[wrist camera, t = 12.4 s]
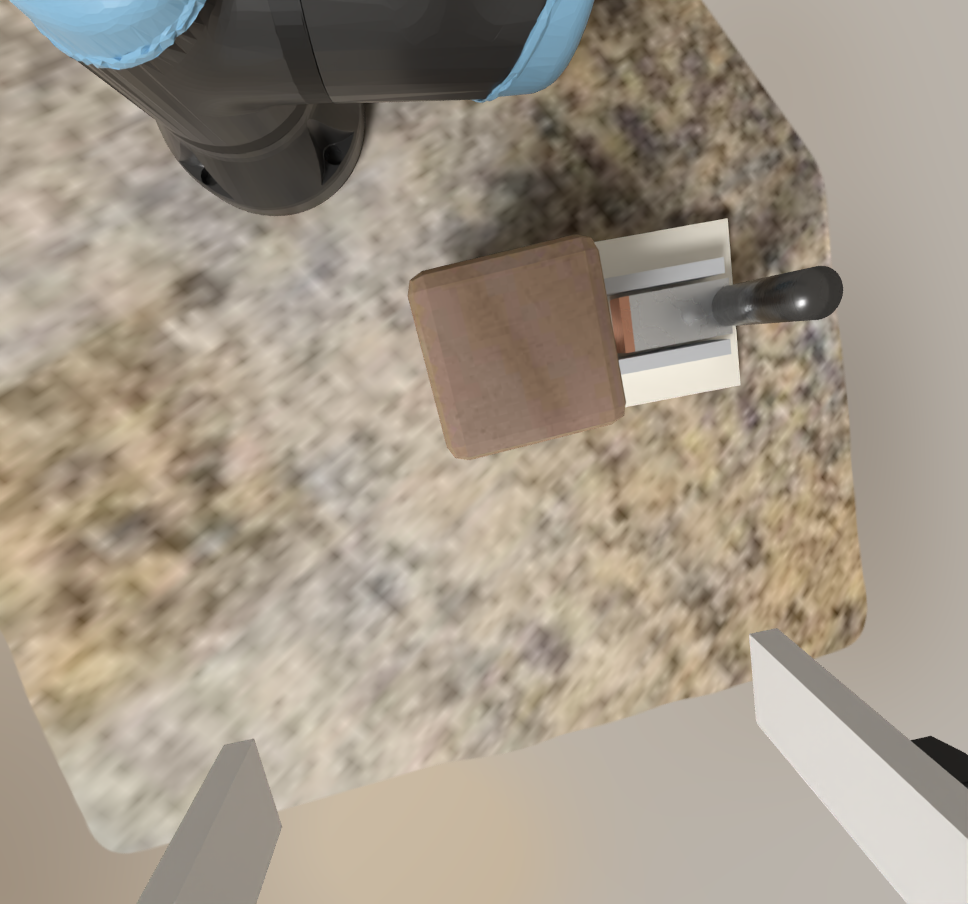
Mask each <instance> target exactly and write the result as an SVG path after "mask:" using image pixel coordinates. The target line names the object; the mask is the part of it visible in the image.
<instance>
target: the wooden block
mask: <svg viewBox="0 0 968 904" xmlns="http://www.w3.org/2000/svg"><path fill="white" fill-rule="evenodd" d="M408 299H409V303H410V307H411V311H412V314H413V318H414V322H415V326H416V330H417V334H418V337H419V341H420V345H421V349H422V353H423V357H424V361H425V364H426V368H427V372H428V376H429V380H430V384H431V388H432V391H433V395H434V399H435V403H436V407H437V411H438V414H439V418H440V422H441V426H442V430H443V434H444V438H445V441H446V445H447V448H448V449H449V450H450V452H451V453H452V454H453V456H454V457H455V458H459V459H466V460H471V459H475V458H479V457H483V456H487V455H491V454H495V453H499V452H503V451H507V450H511V449H515V448H519V447H523V446H527V445H531V444H535V443H539V442H543V441H547V440H551V439H555V438H559V437H563V436H567V435H571V434H575V433H579V432H583V431H587V430H591V429H595V428H599V427H603V426H607V425H611V424H613V423H614V422H616V421H617V420H618V419H620V418H621V417H623V416H624V412H625V405H626V399H625V393H624V388H623V382H622V377H621V371H620V366H619V360H618V354H617V349H616V343H615V338H614V332H613V327H612V321H611V316H610V310H609V305H608V299H607V293H606V288H605V282H604V277H603V271H602V266H601V260H600V255H599V250H598V248H597V247H596V245H595V243H594V241H593V239H592V238H591V237H588V236H583V235H578V234H575V235H570V236H566V237H562V238H558V239H554V240H550V241H545V242H541V243H537V244H533V245H529V246H525V247H520V248H516V249H512V250H508V251H504V252H500V253H495V254H491V255H487V256H483V257H479V258H475V259H470V260H466V261H462V262H458V263H454V264H450V265H445V266H441V267H437V268H433V269H429V270H425V271H421V272H420V273H419V274H418V275H416V276H415V277H414V278H412V279H411V280H410V282H409V290H408Z"/></svg>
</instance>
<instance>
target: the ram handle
mask: <svg viewBox="0 0 968 904" xmlns="http://www.w3.org/2000/svg"><path fill="white" fill-rule="evenodd" d="M842 294H843V285H842V281H841V278H840V276H839V275H838V273H836V271H834V270H833V269H831V268H829V267H826V266H816V267H812V268H807V269H802V270H798V271H793V272H788V273H784V274H779V275H775V276H770V277H765V278H761V279H756V280H751V281H747V282H742V283H738V284H733V285H729V278H723V279H718V280H713V281H707V282H702V283H696V284H691V285H685V286H680V287H674V288H669V289H663V290H658V291H653V292H647V293H642V294H636V295H631V296H625V297H620V298H616V299H612V300H610V308H611V316H612V324H613V332H614V338H615V343H616V349H617V353H631V352H636V351H641V350H647V349H652V348H657V347H662V346H668V345H673V344H678V343H684V342H689V341H694V340H700V339H705V338H710V337H716V336H721V335H726V334H732V333H733V327H732V326H738V325H752V324H765V323H779V322H793V321H806V320H818V319H823V318H825V317H827V316H829V315H830V314H832V313H833V312H834V311H835V310H836V308H837V307H838V305H839V303H840V301H841V299H842Z"/></svg>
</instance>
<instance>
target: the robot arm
mask: <svg viewBox="0 0 968 904" xmlns="http://www.w3.org/2000/svg"><path fill="white" fill-rule="evenodd" d="M9 1H10V2H12V3H13V4H14V5H15V6H16V7H17V8H18V9H19V10H21V11H22V12H23V13H24V14H25V15H26V16H27V17H28V18H30V19H31V21H32V22H33V23H34V25H35V26H36V27H37V29H38V30H39V31H40V32H41V33H42V34H43V35H45V36H46V37H47V38H48V39H49V40H50V41H51V42H52V43H53V45H54V46H56V47H57V48H58V49H59V50H61V51H62V52H64V53H65V54H66V55H68V56H69V57H71V58H73V59H75V60H77V61H78V62H79V63H81V64H82V65H83V66H85V67H86V68H87V69H89V70H90V71H91V72H93V73H94V74H95V75H97V76H98V77H99V78H101V79H102V80H103V81H105V82H106V83H107V84H109V85H110V86H111V87H113V88H114V89H115V90H117V91H118V92H119V93H121V94H122V95H123V96H124V97H126V98H127V99H128V100H130V101H131V102H132V103H134V104H135V105H136V106H138V107H139V108H140V109H142V110H143V111H144V112H146V113H147V114H148V115H150V116H151V117H152V118H154V119H155V120H156V122H157V125H158V127H159V129H160V131H161V133H162V135H163V138H164V140H165V142H166V143H167V145H168V147H169V149H170V150H171V152H172V153H173V155H174V156H175V158H176V159H177V160H178V162H179V163H180V164H181V165H182V167H183V168H184V169H185V170H186V171H187V172H188V173H189V174H190V175H191V176H192V177H193V178H194V179H195V180H196V181H197V182H198V183H199V184H200V185H202V186H203V187H204V188H206V189H207V190H208V191H210V192H211V193H213V194H214V195H216V196H217V197H219V198H220V199H222V200H223V201H225V202H227V203H229V204H231V205H233V206H235V207H237V208H239V209H242V210H245V211H248V212H251V213H255V214H260V215H268V216H285V215H292V214H297V213H300V212H304V211H306V210H309V209H312V208H314V207H316V206H318V205H319V204H321V203H323V202H324V201H326V200H327V199H328V198H330V197H331V196H332V195H333V194H334V193H335V192H336V191H337V190H338V189H339V188H340V187H341V186H342V185H343V184H344V183H345V181H346V180H347V178H348V177H349V175H350V174H351V172H352V170H353V168H354V166H355V164H356V162H357V160H358V157H359V154H360V151H361V147H362V143H363V137H364V129H365V112H364V103H374V102H409V101H444V100H473V101H475V102H485V101H492V100H494V99H496V98H497V97H501V96H512V95H523V94H532V93H536V92H538V91H540V90H543V89H545V88H546V87H548V86H549V85H551V84H552V83H553V82H554V81H556V79H557V78H558V77H559V76H560V75H561V74H562V72H563V71H564V70H565V68H566V67H567V65H568V64H569V62H570V60H571V59H572V57H573V55H574V53H575V51H576V49H577V47H578V45H579V43H580V40H581V38H582V35H583V33H584V30H585V28H586V25H587V22H588V19H589V16H590V13H591V10H592V7H593V3H594V0H9ZM749 638H750V650H751V663H752V675H753V688H754V699H755V712H756V723H757V724H758V726H759V727H760V728H761V729H762V730H763V732H764V733H765V734H766V735H767V736H768V738H770V740H771V741H772V742H773V744H774V745H775V746H776V747H777V748H778V749H779V751H780V752H781V753H782V754H783V755H784V757H785V758H786V759H787V760H788V762H789V763H790V764H791V765H792V766H793V768H794V769H795V770H796V771H797V772H798V774H799V775H800V776H801V777H802V778H803V780H804V781H805V782H806V783H807V784H808V785H809V787H810V788H811V789H812V790H813V792H814V793H815V794H816V795H817V796H818V798H819V799H820V800H821V801H822V802H823V804H824V805H825V806H826V807H827V808H828V810H829V811H830V812H831V813H832V814H833V815H834V817H835V818H836V819H837V820H838V821H839V822H840V824H841V825H842V826H843V828H844V829H845V830H846V831H847V832H848V833H849V835H850V836H851V837H852V838H853V840H854V841H855V842H856V843H857V844H858V846H859V847H860V848H861V849H862V850H863V851H864V853H865V854H866V855H867V856H868V858H869V859H870V860H871V861H872V862H873V864H874V865H875V866H876V867H877V868H878V870H880V872H881V873H882V874H883V876H884V877H885V878H886V879H887V880H888V882H889V883H890V884H891V885H892V886H893V888H895V890H896V891H897V892H898V893H899V895H900V896H901V897H902V898H903V900H904V901H905V902H906V903H907V904H968V755H967V754H966V753H964V752H962V751H960V750H958V749H956V748H954V747H952V746H950V745H948V744H946V743H944V742H942V741H940V740H938V739H936V738H934V737H932V736H928V737H924V738H919V739H915V740H909V739H908V738H907V737H906V736H904V735H903V734H902V733H901V732H900V731H898V730H897V729H896V728H895V727H894V726H892V725H891V724H890V723H889V722H888V721H887V720H885V719H884V718H883V717H882V716H881V715H879V714H878V713H877V712H876V711H875V710H873V709H872V708H871V707H870V706H869V705H867V704H866V703H865V702H864V701H863V700H861V699H860V698H859V697H858V696H857V695H856V694H854V693H853V692H852V691H851V690H850V689H849V688H847V687H846V686H845V685H844V684H842V683H841V682H840V681H839V680H838V679H836V678H835V677H834V676H833V675H832V674H831V673H830V672H828V671H827V670H826V669H825V668H824V667H822V666H821V665H820V664H819V663H818V662H817V661H815V660H814V659H813V658H812V657H811V656H809V655H808V654H807V653H806V652H805V651H803V650H802V649H801V648H800V647H799V646H798V645H796V644H795V643H794V642H793V641H792V640H790V639H789V638H788V637H787V636H786V635H784V634H783V633H782V632H781V631H780V630H779V629H777V628H775V629H771V630H766V631H761V632H756V633H752V634H749ZM281 828H282V825H281V822H280V819H279V816H278V812H277V809H276V806H275V803H274V800H273V797H272V794H271V790H270V787H269V784H268V781H267V778H266V775H265V772H264V768H263V765H262V762H261V759H260V756H259V753H258V750H257V746H256V743H255V740H254V739H250V740H245V741H241V742H236V743H231V744H226V745H224V746H223V748H222V749H221V751H220V753H219V755H218V757H217V759H216V760H215V762H214V764H213V766H212V768H211V769H210V771H209V773H208V775H207V777H206V779H205V780H204V782H203V784H202V786H201V788H200V789H199V791H198V793H197V795H196V797H195V798H194V800H193V802H192V804H191V806H190V808H189V809H188V811H187V813H186V815H185V817H184V818H183V820H182V822H181V824H180V826H179V828H178V829H177V831H176V833H175V835H174V837H173V838H172V840H171V842H170V844H169V846H168V847H167V849H166V851H165V853H164V855H163V857H162V858H161V860H160V862H159V864H158V866H157V867H156V869H155V871H154V873H153V875H152V877H151V878H150V880H149V882H148V884H147V886H146V887H145V889H144V891H143V893H142V895H141V897H140V898H139V900H138V902H137V904H256V902H257V899H258V896H259V893H260V890H261V887H262V884H263V882H264V879H265V875H266V872H267V869H268V867H269V864H270V860H271V858H272V855H273V851H274V849H275V846H276V843H277V840H278V837H279V834H280V831H281Z"/></svg>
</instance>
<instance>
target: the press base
mask: <svg viewBox="0 0 968 904" xmlns="http://www.w3.org/2000/svg"><path fill="white" fill-rule="evenodd" d="M594 243H595V245H596V247H597V248H598V250H599V255H600V260H601V266H602V271H603V277H604V282H605V288H606V293H607V299H608V305H609V310H610V316H611V308H610V300H612V299H616V298H620V297H625V296H631V295H636V294H642V293H647V292H653V291H658V290H663V289H669V288H674V287H680V286H685V285H691V284H696V283H702V282H707V281H713V280H718V279H723V278H729V285H733V282H732V268H731V255H730V242H729V229H728V218H726V219H721V220H715V221H710V222H704V223H698V224H693V225H687V226H682V227H676V228H670V229H665V230H659V231H654V232H648V233H643V234H637V235H631V236H626V237H620V238H615V239H609V240H603V241H598V242H594ZM611 321H612V316H611ZM612 327H613V324H612ZM732 327H733V333H732V334H726V335H721V336H716V337H710V338H705V339H700V340H694V341H689V342H684V343H678V344H673V345H668V346H662V347H657V348H652V349H647V350H641V351H636V352H631V353H617V354H618V360H619V366H620V371H621V377H622V382H623V388H624V393H625V399H626V405H625V407H628V406H634V405H639V404H644V403H649V402H655V401H660V400H665V399H670V398H675V397H681V396H686V395H691V394H696V393H701V392H707V391H712V390H717V389H722V388H727V387H733V386H738V385H740V373H739V360H738V347H737V334H736V326H732Z"/></svg>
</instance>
